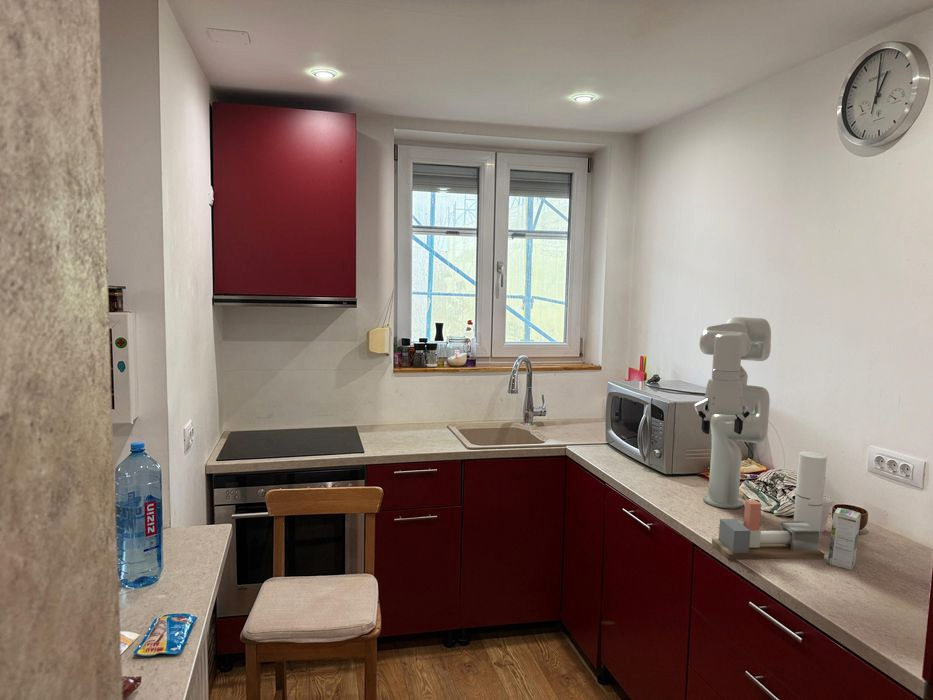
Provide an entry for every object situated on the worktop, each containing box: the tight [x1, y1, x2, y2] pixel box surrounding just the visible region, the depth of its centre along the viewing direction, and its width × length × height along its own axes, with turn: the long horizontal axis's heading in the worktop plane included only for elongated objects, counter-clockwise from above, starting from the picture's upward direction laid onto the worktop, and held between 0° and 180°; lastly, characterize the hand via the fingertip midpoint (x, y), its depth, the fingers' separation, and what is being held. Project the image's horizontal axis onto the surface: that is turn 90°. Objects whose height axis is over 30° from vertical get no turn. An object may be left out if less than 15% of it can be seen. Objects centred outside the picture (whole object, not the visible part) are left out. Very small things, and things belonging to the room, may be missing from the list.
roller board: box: [711, 520, 825, 561], centre depth 175 cm, size 10×27×7 cm, turn 93°
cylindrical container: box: [792, 450, 828, 538], centre depth 185 cm, size 7×7×25 cm
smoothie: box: [820, 496, 833, 533], centre depth 191 cm, size 6×6×14 cm
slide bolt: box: [743, 499, 792, 547], centre depth 175 cm, size 5×16×12 cm, turn 93°
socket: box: [718, 518, 750, 553], centre depth 175 cm, size 8×4×6 cm, turn 3°
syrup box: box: [827, 507, 862, 571], centre depth 168 cm, size 6×6×14 cm
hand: (721, 433), depth 186 cm, fingers open, 9 cm apart
